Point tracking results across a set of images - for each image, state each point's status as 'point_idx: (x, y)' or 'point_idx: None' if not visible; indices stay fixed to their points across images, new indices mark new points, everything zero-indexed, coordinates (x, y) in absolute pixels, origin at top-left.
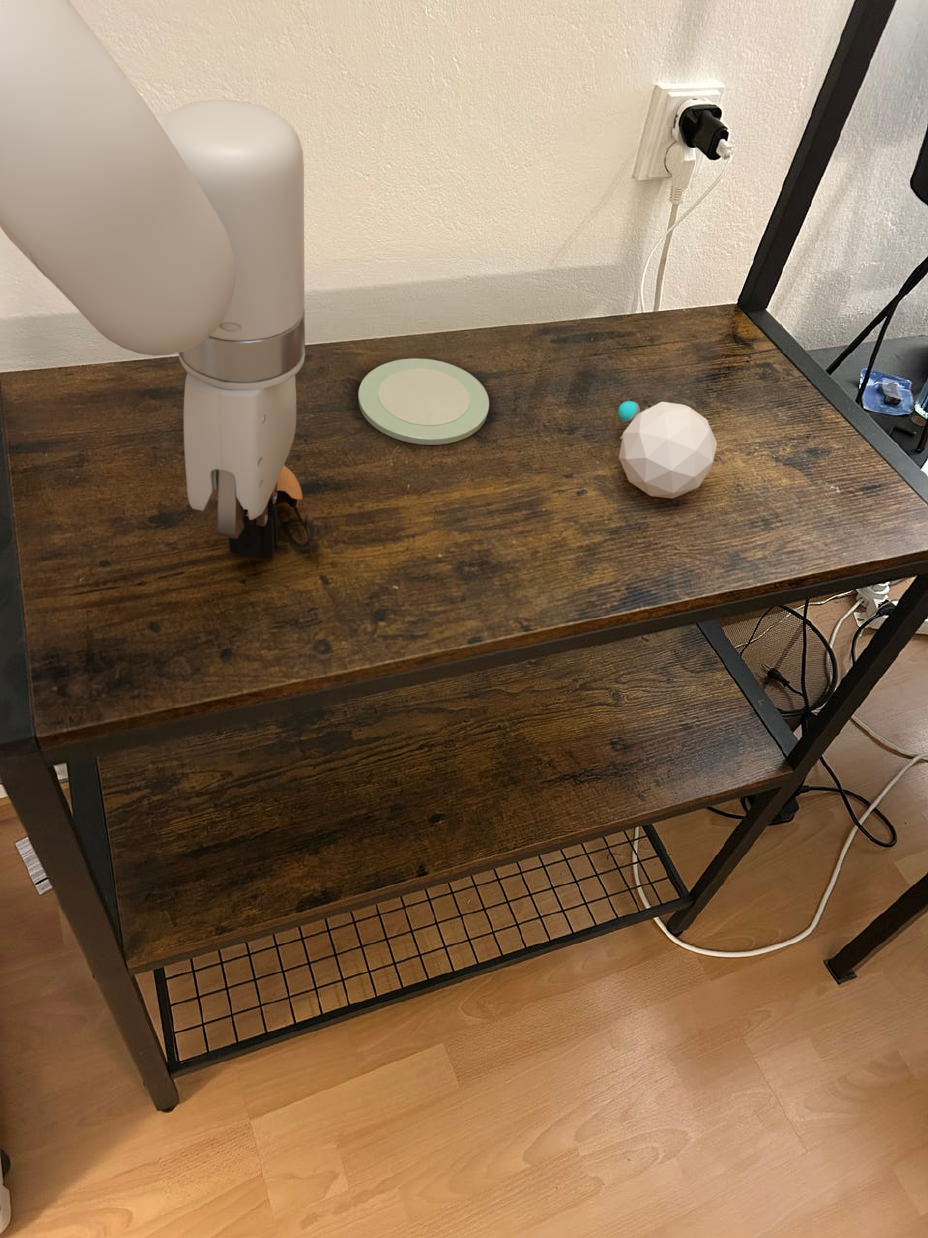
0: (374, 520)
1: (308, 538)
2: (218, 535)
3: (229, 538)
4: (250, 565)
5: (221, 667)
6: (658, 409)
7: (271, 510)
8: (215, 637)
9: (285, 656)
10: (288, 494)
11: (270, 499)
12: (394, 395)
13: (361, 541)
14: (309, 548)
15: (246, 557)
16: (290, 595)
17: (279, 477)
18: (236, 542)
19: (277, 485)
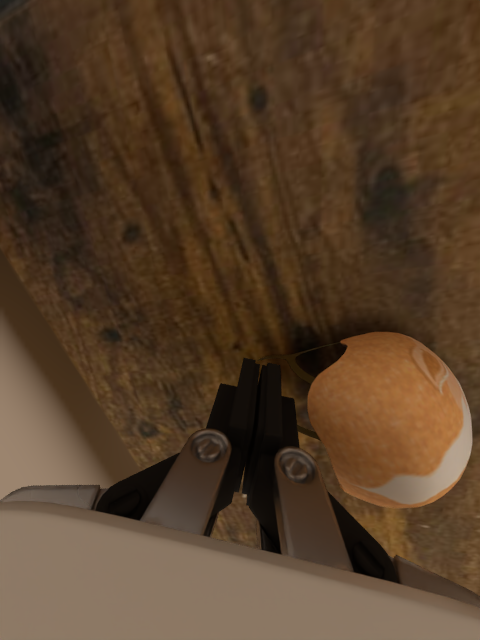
0: None
1: (311, 433)
2: (11, 492)
3: (240, 374)
4: (262, 358)
5: (91, 331)
6: None
7: (249, 499)
8: (133, 320)
9: (125, 396)
10: (342, 487)
11: (257, 525)
12: None
13: None
14: (300, 426)
15: (271, 356)
16: None
17: (376, 503)
18: (217, 394)
19: (353, 493)
